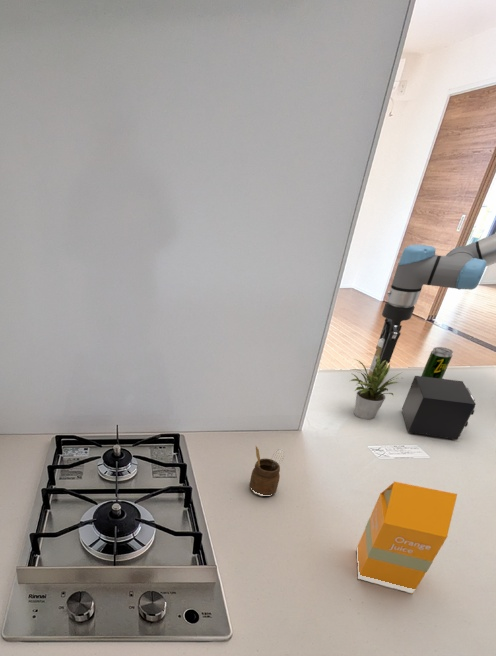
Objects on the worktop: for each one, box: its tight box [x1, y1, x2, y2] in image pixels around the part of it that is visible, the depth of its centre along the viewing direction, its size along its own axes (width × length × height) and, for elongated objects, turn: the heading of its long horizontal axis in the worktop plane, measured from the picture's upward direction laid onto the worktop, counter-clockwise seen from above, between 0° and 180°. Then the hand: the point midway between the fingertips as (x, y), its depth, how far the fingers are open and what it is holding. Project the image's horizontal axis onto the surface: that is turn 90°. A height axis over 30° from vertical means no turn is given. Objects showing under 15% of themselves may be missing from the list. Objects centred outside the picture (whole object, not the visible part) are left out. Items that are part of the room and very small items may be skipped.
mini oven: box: [401, 375, 477, 440], centre depth 115 cm, size 12×13×11 cm
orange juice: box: [356, 481, 458, 590], centre depth 74 cm, size 8×9×20 cm
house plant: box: [349, 355, 404, 420], centre depth 120 cm, size 14×14×16 cm
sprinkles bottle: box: [366, 338, 384, 381], centre depth 137 cm, size 5×5×14 cm
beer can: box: [420, 346, 454, 379], centre depth 132 cm, size 5×5×12 cm
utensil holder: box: [249, 445, 285, 495], centre depth 95 cm, size 6×6×12 cm
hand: (374, 376), depth 140 cm, fingers closed on sprinkles bottle, 4 cm apart
